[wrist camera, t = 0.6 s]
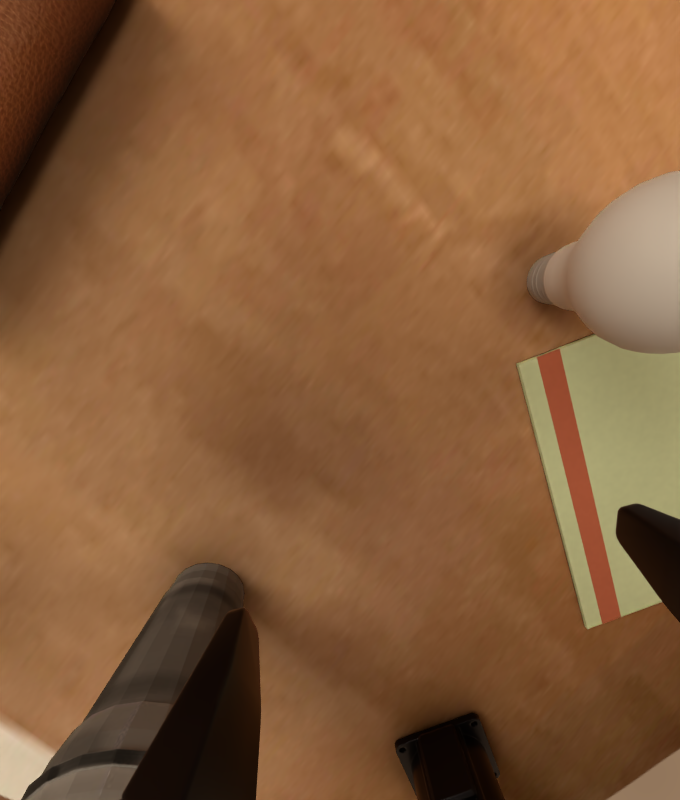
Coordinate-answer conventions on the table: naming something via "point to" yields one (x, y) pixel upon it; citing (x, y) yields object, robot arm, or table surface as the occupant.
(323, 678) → the table surface
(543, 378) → the cloth
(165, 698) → the beverage cup
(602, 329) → the lightbulb
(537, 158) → the table surface
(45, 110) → the sunglasses case
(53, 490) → the table surface
